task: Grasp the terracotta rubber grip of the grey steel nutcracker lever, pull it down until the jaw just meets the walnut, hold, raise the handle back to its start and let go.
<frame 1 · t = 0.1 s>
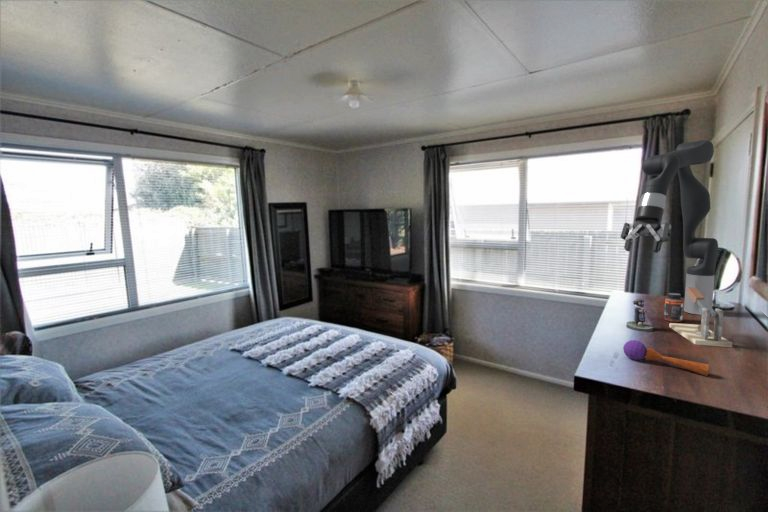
hand: (640, 251, 125), 31 cm above the table, tool tilted 20°, fingers open, 8 cm apart
nutcracker lever: (701, 304, 126), point 12 cm above the table, hinge at -20.0°
supplement bottle: (672, 321, 147), on the table
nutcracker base: (697, 336, 128), on the table
two-tone long tapered part: (662, 366, 105), on the table
figurine: (639, 328, 139), on the table
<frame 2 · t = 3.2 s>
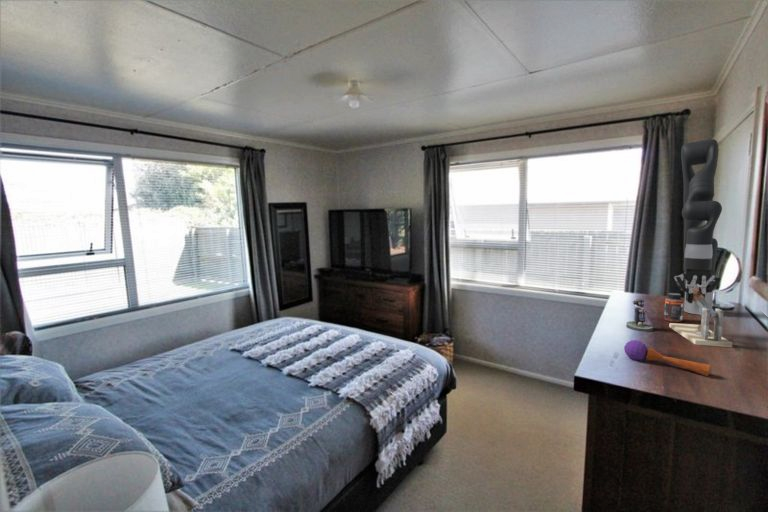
hand: (694, 302, 131), 11 cm above the table, tool pointing down, fingers closed on nutcracker lever, 2 cm apart
nutcracker lever: (701, 304, 126), point 12 cm above the table, hinge at -20.0°, touching gripper
everything else where it was.
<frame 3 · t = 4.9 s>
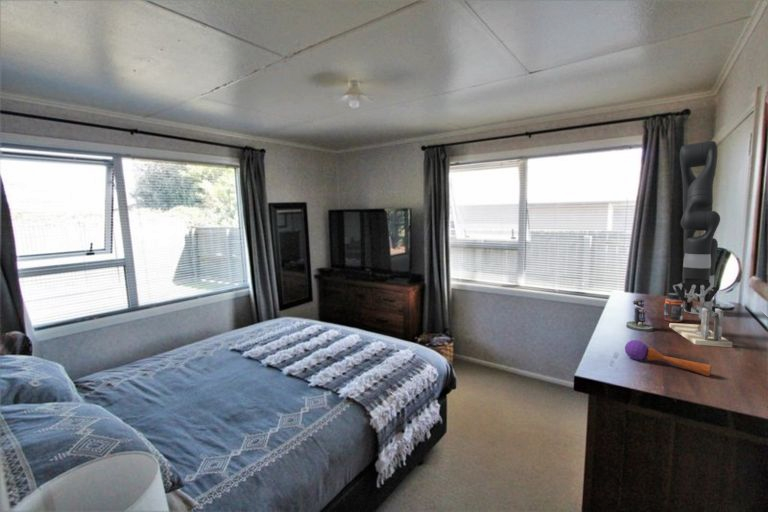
hand: (693, 311, 131), 8 cm above the table, tool pointing down, fingers closed on nutcracker lever, 2 cm apart
nutcracker lever: (700, 310, 127), point 10 cm above the table, hinge at -4.8°, touching gripper
everything else where it was.
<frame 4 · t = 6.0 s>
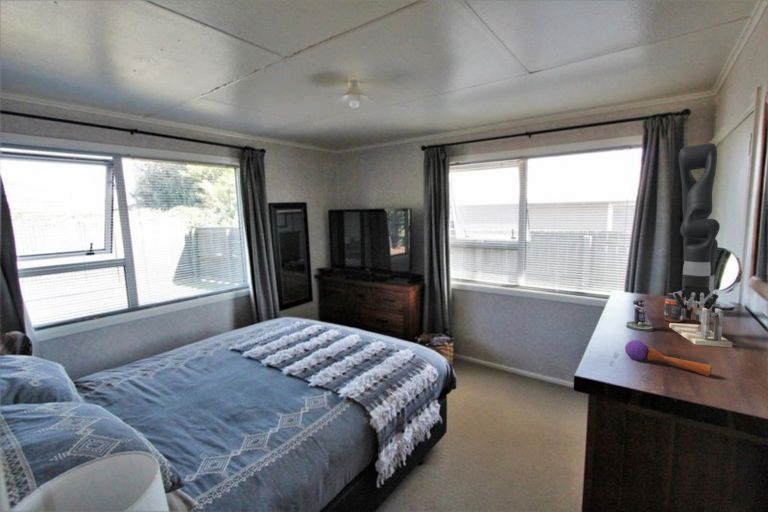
hand: (693, 319, 132), 5 cm above the table, tool pointing down, fingers closed on nutcracker lever, 2 cm apart
nutcracker lever: (700, 314, 127), point 8 cm above the table, hinge at 7.2°, touching gripper
everything else where it was.
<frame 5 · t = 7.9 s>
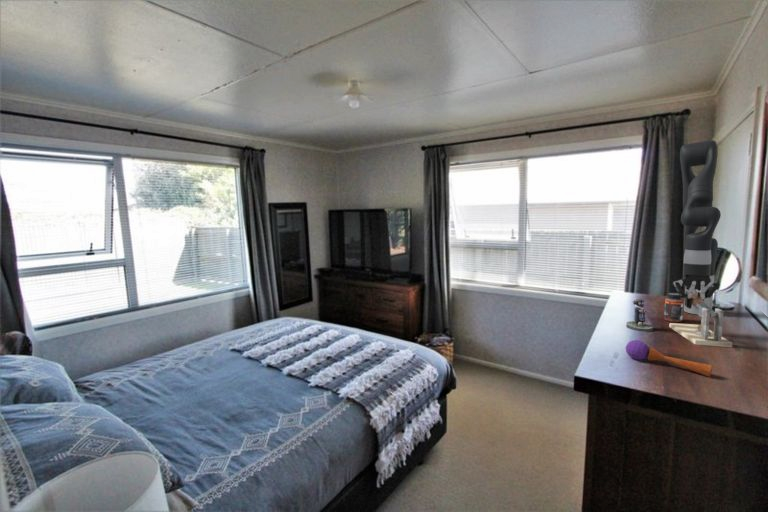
hand: (693, 308, 131), 9 cm above the table, tool pointing down, fingers closed on nutcracker lever, 2 cm apart
nutcracker lever: (700, 307, 127), point 11 cm above the table, hinge at -11.2°, touching gripper
everything else where it was.
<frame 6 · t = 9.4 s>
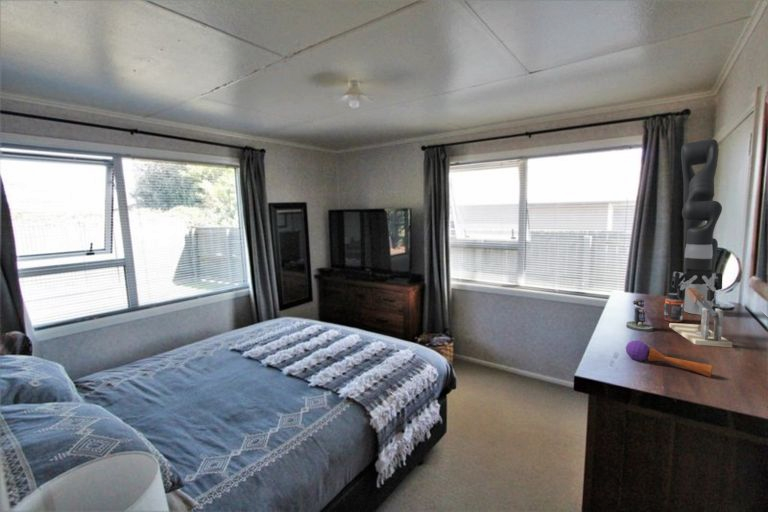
hand: (695, 300, 130), 12 cm above the table, tool pointing down, fingers open, 8 cm apart
nutcracker lever: (700, 305, 127), point 12 cm above the table, hinge at -19.4°
everything else where it was.
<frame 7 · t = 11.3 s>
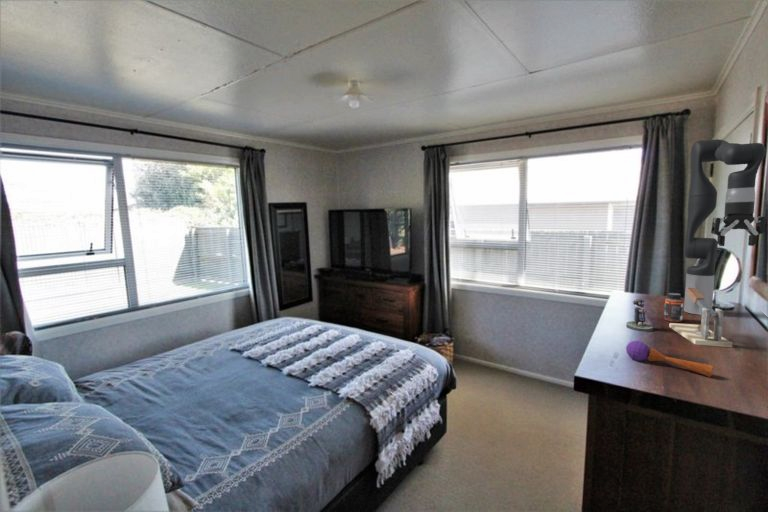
hand: (736, 245, 129), 32 cm above the table, tool pointing down, fingers open, 8 cm apart
nothing on the table moved.
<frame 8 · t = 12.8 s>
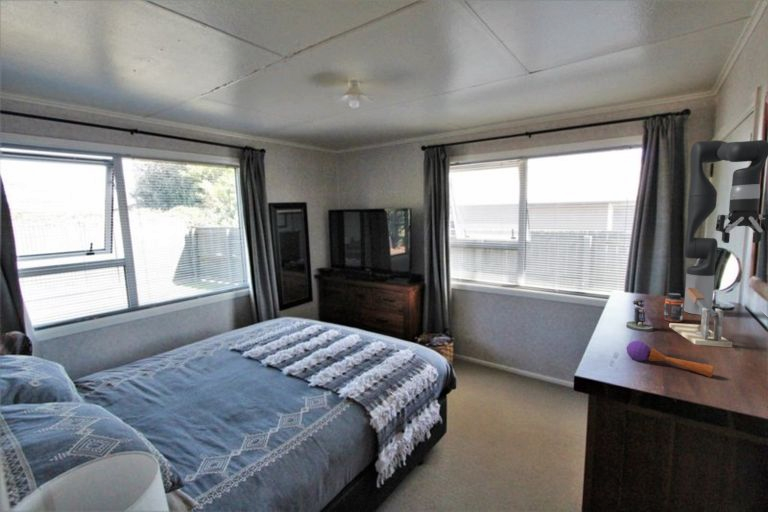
hand: (740, 242, 129), 33 cm above the table, tool pointing down, fingers open, 8 cm apart
nothing on the table moved.
at the end: nutcracker lever at -19° (first picture: -20°); the gripper is holding nothing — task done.
